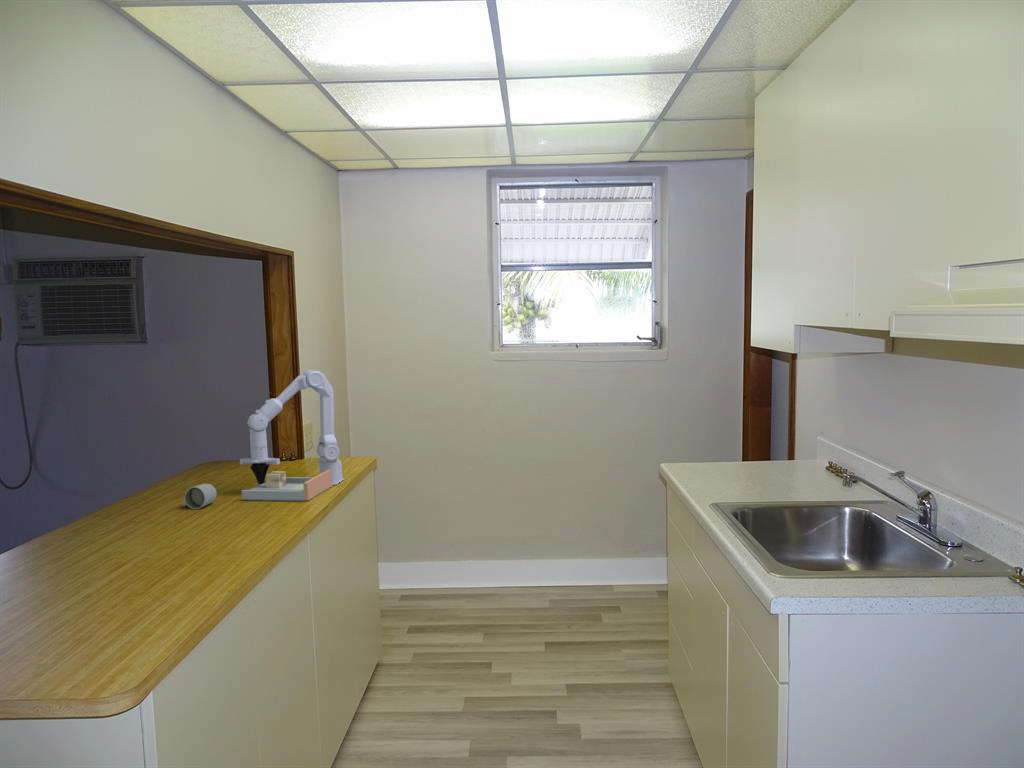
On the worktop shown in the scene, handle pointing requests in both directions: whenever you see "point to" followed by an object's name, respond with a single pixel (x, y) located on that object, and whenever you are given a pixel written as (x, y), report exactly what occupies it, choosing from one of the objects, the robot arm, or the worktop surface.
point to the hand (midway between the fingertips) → (261, 483)
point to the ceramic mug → (199, 496)
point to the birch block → (275, 479)
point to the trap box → (292, 489)
